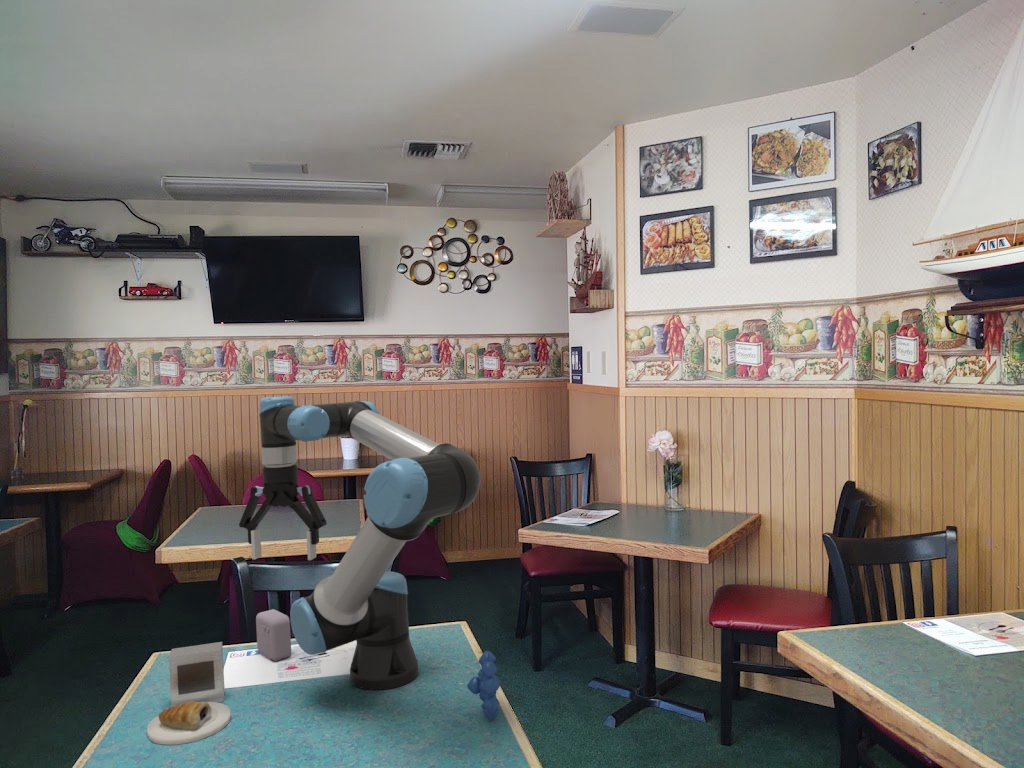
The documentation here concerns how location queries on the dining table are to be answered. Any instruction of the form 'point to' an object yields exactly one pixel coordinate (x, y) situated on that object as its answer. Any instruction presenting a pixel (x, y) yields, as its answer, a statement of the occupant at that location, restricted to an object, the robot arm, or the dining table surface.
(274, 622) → the electronic device
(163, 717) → the pastry
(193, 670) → the picture frame
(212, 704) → the plate
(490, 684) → the grapes
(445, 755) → the dining table surface
